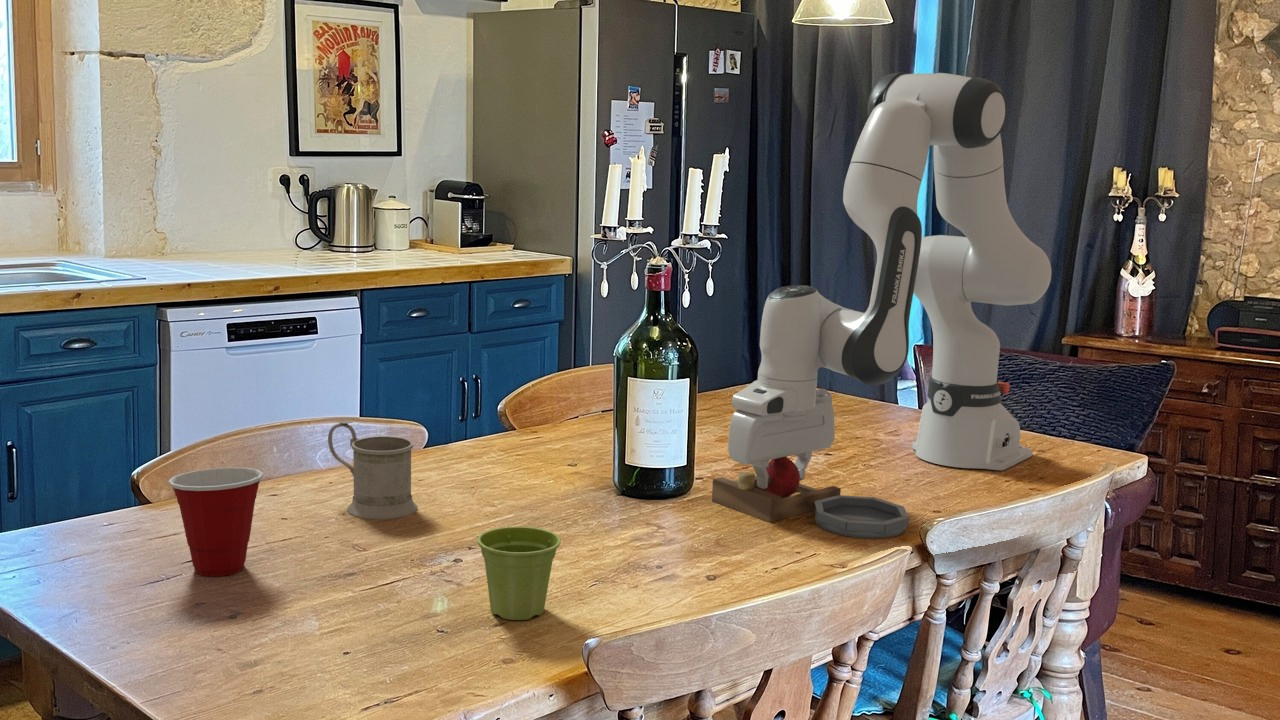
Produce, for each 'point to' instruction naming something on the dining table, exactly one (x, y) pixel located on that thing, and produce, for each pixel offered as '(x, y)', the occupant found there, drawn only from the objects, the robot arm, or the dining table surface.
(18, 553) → the dining table surface
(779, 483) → the onion
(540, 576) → the plant pot
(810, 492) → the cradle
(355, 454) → the mug
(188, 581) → the dining table surface
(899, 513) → the saucer
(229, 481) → the plastic cup
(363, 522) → the dining table surface
